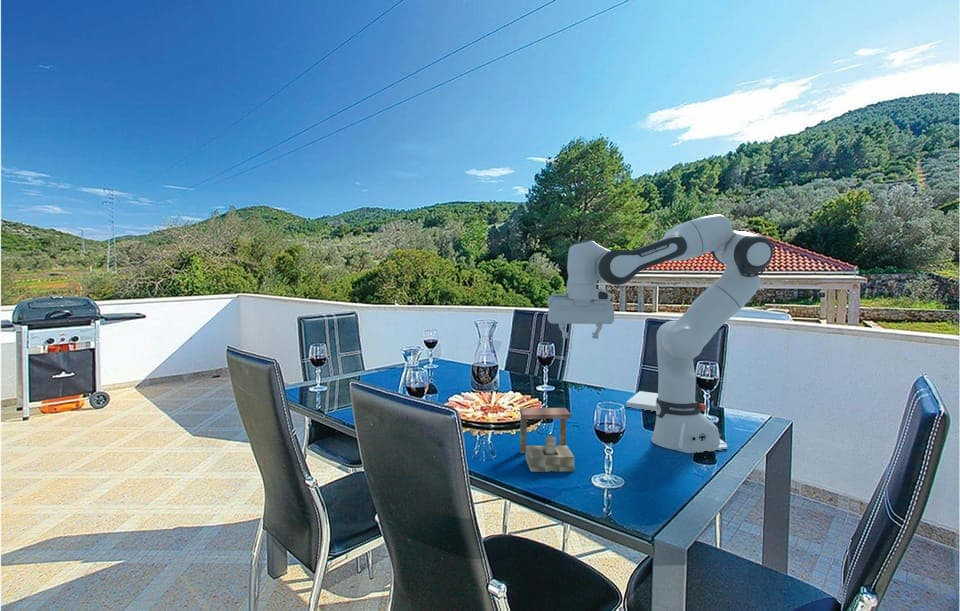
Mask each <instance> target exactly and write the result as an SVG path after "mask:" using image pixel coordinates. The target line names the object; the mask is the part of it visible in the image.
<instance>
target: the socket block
mask: <svg viewBox="0 0 960 611" xmlns="http://www.w3.org/2000/svg"><path fill="white" fill-rule="evenodd" d="M545 447H546V445H526V453H525V461H526V463H527V466H528V469H529V471H531V472H534V473H535V472H537V473H538V472H540V473H541V472H547V473H548V472H550V471H552V472H553V471H554V472H575V456H574V454H573V453H572V451H571V449H570V448H569V446H568V445H566V446H559V445H556V450H555V455H545ZM550 473H551V472H550Z"/></svg>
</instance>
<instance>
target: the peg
mask: <svg viewBox="0 0 960 611" xmlns="http://www.w3.org/2000/svg"><path fill="white" fill-rule="evenodd" d="M556 443H557V437H556V436H554V435H547V436H545V446H546V447H545V455H555V450H556V446H557V444H556Z"/></svg>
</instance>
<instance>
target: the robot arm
mask: <svg viewBox="0 0 960 611" xmlns="http://www.w3.org/2000/svg"><path fill="white" fill-rule="evenodd" d="M774 252H775V250H774V246H773V243H772V242H771V241H770V240H769V239H768V238H767V237H765V236H764V235H760V234H757V233H753V232H748V231H739V230H734V229H733V226H732V222H730V220H729V218H727V217H726V216H725V215H722V214H712V215H705V216H701V217H698V218H694V219H691V220H690V219H689V220H688V221H685V222H682V223H680V224H678V225H676V226H674V227H672V228H670V229H669V230H667V231H666V232H665V233H664V235H663V237H662V238H661V239H658V240H657V241H654V242H652V243H650V244H646V245H644V246H641V247H637V248H635V249H631V250H630V249H612V250H610V249H607V248H605V247H603V246H601V245H600V244H598V243H596V242H595V241H594V240H591V239H589V240H582V241H578V242H575V243H573V244H572V245H571V246H570V247H569V249H568V253H567V254H568V255H567V264H566V265H567V266H566V268H567V269H566V270H567V274H568V277H567V278H568V279H567V281H566V293H552V294H550V295H549V296H548V298H547V307H548V313H547V322H549V323H550V324H553V325H554V324H558V327H559V330H560V331H561V332H562V333H561V334H562V335H561V336H562V339H569V332H567V331H565V329H564V328H565V327H566V326H565V325H567V324H568V325H571V324H572V325H576V324H577V325H582V324H583V325H584V324H585V325H588V324H589V325H595V327H596V330H595V331H592V332H591V333H592V334H591V335H592V336H591V338H592V339H599V333H600V332H601V331H602V329H603V325H612V324H613V323H614V322H615V309H614V303H613V302H612V301H611V300H612V293H610V292H608V291H604V290H602V289H598V288H597V282H598V281H599V282H600V281H601V282H603V283H605V284H609V285H610V284H611V285H613V286H619V285H620V286H621V285H624V284H626V283H628V282H630V281H631V280H632V279H633V278H634V277H635V276H636V275H637V274H638V273H640V272H641V271H643V270H647V269H649V268H652V267H655V266H656V265H660V264H662V263H664V262H670V261H675V262H679V261H685V260H690V259H695V258H697V257H700V256H703V255H706V254H708V253H710V254H711V256H712V257H713V258H714V259H715V260H716V261H717V262H718V263H720V264H723V265H726V267H725V269H724V272H723V273H722V275H721V276H720V277H719V278H718V279H716V281H714V282H713V283H712V284H711V285H710V286H709V287H707V288H706V289H705V290H704V291H703V292H702V293H700V295H699V296H697V298H695V299H694V300H693V301H692V303H691V304H690V306H689V307H688V308H687V309H686V311H685V312H684V313H683V314H682V316H680V318H679V319H678V320H669V321H666V322H665V323H662V324H661V325H660V326H659V328H658V330H656V357H657V360H656V361H657V370H658V374H657V375H658V378H657V379H658V384H657V393H658V397H657V398H656V412H655V415H656V417H655V424H654V428H653V432H652V435H651V438H650V441H651V442H652V443H653V444H654V445H655V446H656V445H657V446H659V447H662V448H665V449H669V450H674V451H678V452H682V453H684V454H685V453H686V454H696V452H697V453H704V451H708V452H716V451H715V450H719V451H722V450H721V449H727V450H728V444H727V443H726V441H724V440H723V439H721V438H720V432H719V429H718V427H717V426H716V425H715V423H713V422H712V421H711V420H709V418H707V417H706V416H705V415H704V414H703V413H701V411H703V412H704V411H705V412H706V410H707V409H708V406H707V405H706V404H704V402H703V403H700V402H699V401H697V400H696V386H697V384H696V382H697V381H696V380H697V376H696V372H695V364H694V359H695V358H697V357H698V356H699V355H700V354H701V353H702V351H703V349H704V347H706V346H707V344H708V343H709V342H710V341H711V339H712V338H713V337H714V335H715V334H716V333H717V331H718V330H720V329H721V327H722V326H723V325H725V324H726V323H727V322H728V321H729V320H730V319H731V318H732V317H733V316H734V315H735V314H737V313H738V312H739V311H741V309H742V308H743V307H745V305H746V304H747V303H748V302H749V301H750V300H751V299H752V298H753V297H754V295H755V294H756V293H757V291H758V290H759V289H760V287H761V284H762V283H761V282H762V281H761V277H760V276H759V275H762V274H763V273H764V272H765V270H766V268H767V267H768V266H769V264H770V263H771V262H772V259H773V256H774ZM700 410H701V411H700Z"/></svg>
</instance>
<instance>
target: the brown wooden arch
mask: <svg viewBox="0 0 960 611" xmlns="http://www.w3.org/2000/svg"><path fill="white" fill-rule="evenodd" d="M519 413H520V434H519V435H520V438H519V440H520V443H519V448H520V451H519V452H520V454H526V446H527V421H528V420H529V419H530V420H532V419H533V420H537V419H539V420H542V419H544V420H545V419H547V420H548V419H553V420H554V419H559V441H558V442H559V443H558V444H559V445H558V446H567V443H566V442H567V419H572V414H571V413H570V411H569V410H568V409H567V408H566V407H520V408H519Z"/></svg>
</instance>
